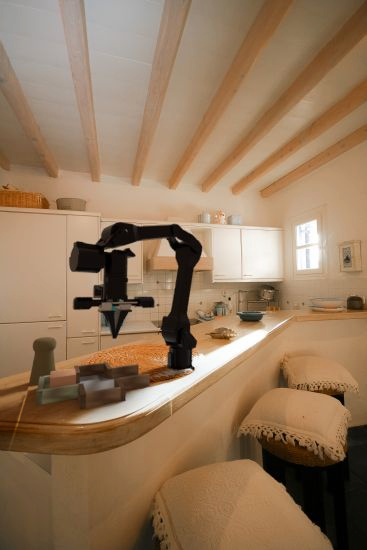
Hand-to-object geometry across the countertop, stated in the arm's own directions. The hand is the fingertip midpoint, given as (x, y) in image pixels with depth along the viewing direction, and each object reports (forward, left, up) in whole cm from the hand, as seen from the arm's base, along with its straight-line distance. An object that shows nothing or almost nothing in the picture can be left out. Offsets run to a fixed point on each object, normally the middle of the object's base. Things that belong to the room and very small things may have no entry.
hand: (114, 338), depth 60 cm
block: (+11, 0, -11) cm, 15 cm away
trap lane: (+4, 0, -11) cm, 12 cm away
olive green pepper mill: (+15, -10, -12) cm, 22 cm away
